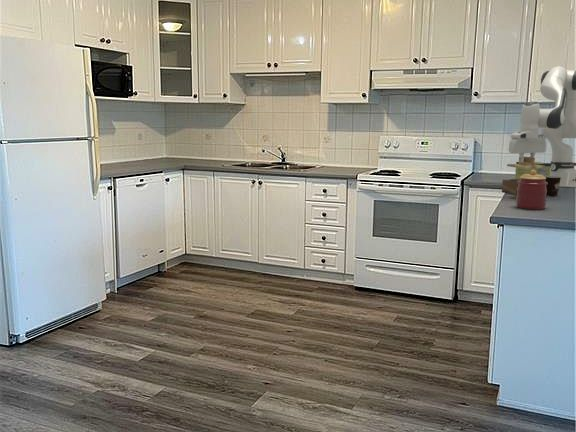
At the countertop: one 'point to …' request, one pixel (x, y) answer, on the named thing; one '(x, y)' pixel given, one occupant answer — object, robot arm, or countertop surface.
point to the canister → (531, 191)
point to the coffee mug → (552, 185)
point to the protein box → (538, 170)
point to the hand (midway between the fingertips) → (526, 161)
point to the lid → (527, 163)
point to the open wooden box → (510, 186)
